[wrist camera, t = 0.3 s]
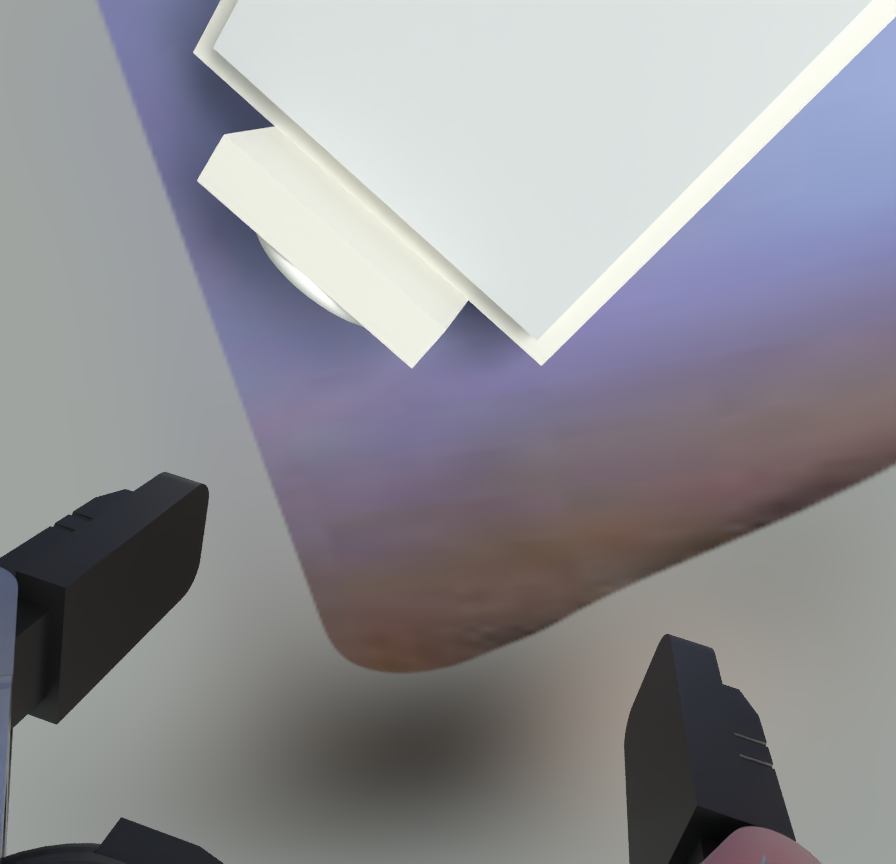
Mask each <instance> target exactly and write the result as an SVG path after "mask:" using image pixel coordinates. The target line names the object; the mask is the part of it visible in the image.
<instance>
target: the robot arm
mask: <svg viewBox="0 0 896 864" xmlns="http://www.w3.org/2000/svg"><path fill="white" fill-rule="evenodd" d="M208 500H209V491H208V488H207V486H206V485H204V484H202V483H198V482H195V481H192V480H189V479H186V478H183V477H180V476H176V475H173V474H170V473H167V472H163V473H160V474H159V475H157V476H156V477H154V478H153V479H151V480H150V481H148V482H147V483H145V484H144V485H142V486H141V487H139V488H138V489H136V490H135V491H129V490H126V489H124V490H121V491H117V492H114V493H110V494H106V495H103V496H99V497H96V498H94V499H92V500H91V501H89V502H88V503H86V504H85V505H83V506H81V507H80V508H78V509H77V510H75V511H73V514H72V515H67V516H66V517H64V518H62V519H61V520H59V521H58V522H56V523H55V525H54V527H49V528H47V529H45V530H43V531H42V532H40V533H39V534H37V535H36V536H34V537H33V538H31V539H29V540H28V541H26V542H25V543H23V544H22V545H20V546H19V547H17V548H15V549H14V550H12V551H10V552H9V553H7V554H6V555H4V556H3V557H1V558H0V864H223V863H222V862H221V861H219V860H218V859H217V858H215V857H213V856H212V855H211V854H210V853H208V852H207V851H205V850H204V849H203V848H201V847H200V846H197V845H195V844H192V843H189V842H187V841H184V840H181V839H178V838H176V837H173V836H170V835H168V834H165V833H162V832H159V831H157V830H154V829H151V828H149V827H146V826H143V825H140V824H138V823H135V822H133V821H130V820H127V819H124V818H122V817H121V818H120V820H119V821H118V822H117V824H116V825H115V826H114V828H113V829H112V830H111V832H110V833H109V834H108V836H107V837H106V838H105V840H104V841H103V842H102V844H94V843H78V844H77V843H76V844H75V843H74V844H61V845H53V846H45V847H40V848H36V849H31V850H27V851H22V852H19V853H16V854H12V855H9V856H6V849H7V830H8V813H9V795H10V776H11V758H12V740H13V727H14V726H15V725H17V724H18V723H19V721H21V720H22V719H23V718H24V717H25V716H26V715H27V714H29V715H32V716H34V717H37V718H40V719H43V720H46V721H48V722H51V723H54V724H58V723H59V722H60V721H61V720H62V719H63V718H64V717H65V716H66V715H67V714H68V713H69V712H70V711H71V710H72V709H73V708H74V707H75V706H76V705H77V704H78V703H79V702H80V701H81V700H82V699H83V698H84V697H85V696H86V695H87V694H88V693H89V692H90V691H91V690H92V689H93V688H94V687H95V686H96V684H98V683H99V681H100V680H102V679H103V677H104V676H105V675H106V674H107V673H108V672H109V671H110V670H111V669H112V668H113V667H114V666H115V665H116V664H117V663H118V662H119V661H120V660H121V659H122V658H123V657H124V656H125V655H126V654H127V653H128V652H129V651H130V650H131V649H132V648H133V647H134V646H135V645H136V644H137V643H138V642H139V641H140V640H141V639H142V638H143V637H144V636H145V635H146V634H147V633H148V632H149V631H150V630H151V629H152V628H153V627H154V626H155V625H156V624H157V623H158V622H159V621H160V620H161V619H162V618H163V617H164V616H165V615H166V614H167V613H168V612H169V611H170V610H171V609H172V608H173V607H174V606H175V605H176V604H177V603H178V602H179V601H180V600H181V599H182V598H183V597H184V596H185V594H186V593H187V592H188V590H189V588H190V587H191V585H192V583H193V581H194V579H195V576H196V574H197V571H198V568H199V564H200V557H201V550H202V543H203V535H204V529H205V521H206V514H207V507H208ZM624 750H625V752H624V753H625V774H626V795H627V819H628V840H629V862H630V864H821V863H820V862H819V861H818V860H817V859H816V858H815V857H814V856H813V855H812V854H811V853H810V852H809V851H807V850H806V849H805V848H803V847H802V846H801V845H799V844H798V843H796V840H795V836H794V833H793V830H792V826H791V823H790V820H789V816H788V812H787V809H786V806H785V802H784V799H783V796H782V792H781V789H780V786H779V782H778V779H777V776H776V772H775V769H772V765H773V762H772V759H771V755H770V752H769V749H768V747H766V739H765V735H764V732H763V729H762V725H761V722H760V719H759V716H758V714H757V713H756V712H755V710H754V709H753V708H752V706H751V705H750V704H749V702H748V701H747V700H746V698H745V697H744V696H743V694H742V693H741V692H740V690H738V689H736V688H732V687H730V686H726V685H723V684H722V680H721V676H720V672H719V668H718V664H717V660H716V656H715V652H714V650H713V649H712V648H709V647H707V646H703V645H701V644H697V643H694V642H691V641H688V640H685V639H682V638H679V637H676V636H672V635H669V634H666V635H664V636H663V638H662V639H661V641H660V643H659V645H658V647H657V649H656V652H655V654H654V656H653V659H652V661H651V663H650V666H649V668H648V670H647V673H646V675H645V678H644V680H643V682H642V685H641V687H640V689H639V692H638V694H637V696H636V699H635V701H634V703H633V706H632V708H631V711H630V714H629V718H628V722H627V727H626V733H625V741H624Z"/></svg>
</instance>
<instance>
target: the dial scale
mask: <svg viewBox="0 0 896 864" xmlns="http://www.w3.org/2000/svg"><path fill="white" fill-rule="evenodd" d="M895 17H896V0H221V1H220V2H219V4H218V6H217V8H216V10H215V12H214V14H213V16H212V18H211V20H210V21H209V23H208V25H207V27H206V29H205V31H204V33H203V35H202V37H201V38H200V40H199V42H198V44H197V46H196V48H195V50H194V52H193V53H194V54H195V55H196V56H197V57H198V58H200V59H201V60H202V61H203V62H204V63H205V64H206V65H207V66H208V67H210V68H211V69H212V70H213V71H214V72H215V73H216V74H217V75H218V76H220V77H221V78H222V79H223V80H224V81H225V82H226V83H227V84H228V85H230V86H231V87H232V88H233V89H234V90H235V91H236V92H237V93H238V94H240V95H241V96H242V97H243V98H244V99H245V100H246V101H247V102H248V103H250V104H251V105H252V106H253V107H254V108H255V109H256V110H257V111H259V112H260V113H261V114H262V115H263V116H264V117H265V118H266V119H267V120H269V121H270V122H271V123H272V124H273V125H274V127H268V128H261V129H255V130H249V131H242V132H236V133H229V134H224V135H223V137H222V139H221V140H220V142H219V144H218V145H217V147H216V149H215V151H214V152H213V154H212V156H211V157H210V159H209V161H208V163H207V164H206V166H205V168H204V169H203V171H202V173H201V175H200V176H199V178H198V180H197V181H198V182H199V183H200V184H201V185H202V186H203V187H205V188H206V189H207V190H208V191H209V192H210V193H211V194H213V195H214V196H215V197H216V198H217V199H218V200H219V201H221V202H222V203H223V204H224V205H225V206H226V207H227V208H229V209H230V210H231V211H232V212H233V213H234V214H235V215H237V216H238V217H239V218H240V219H241V220H242V221H244V222H245V223H246V224H247V225H248V226H249V227H250V228H252V229H253V230H254V231H255V232H256V233H257V236H258V239H259V241H260V243H261V245H262V247H263V249H264V250H265V252H266V254H267V255H268V256H269V258H270V259H271V261H272V262H273V263H274V264H275V266H276V267H277V268H278V269H279V270H280V272H281V273H282V274H283V275H284V276H285V277H286V278H287V279H288V280H289V281H290V282H291V283H292V284H293V285H295V286H296V287H297V288H298V289H299V290H300V291H301V292H303V293H304V294H305V295H306V296H308V297H309V298H310V299H312V300H313V301H314V302H316V303H317V304H318V305H320V306H322V307H323V308H325V309H326V310H328V311H329V312H331V313H333V314H335V315H337V316H338V317H340V318H343V319H345V320H347V321H349V322H351V323H354V324H357V325H359V326H363V327H365V328H366V329H367V330H368V331H370V332H371V333H372V334H373V335H374V336H375V337H376V338H378V339H379V340H380V341H381V342H382V343H383V344H384V345H386V346H387V347H388V348H389V349H390V350H391V351H392V352H394V353H395V354H396V355H397V356H398V357H399V358H400V359H402V360H403V361H404V362H405V363H406V364H407V365H408V366H410V367H411V368H413V367H414V365H415V364H416V363H417V362H418V361H419V360H420V359H421V358H422V356H423V355H424V354H425V353H426V352H427V351H428V350H429V349H430V348H431V346H432V345H433V344H434V343H435V342H436V341H437V340H438V339H439V337H440V336H441V335H442V334H443V333H444V332H445V331H446V329H447V328H448V327H449V325H450V324H451V323H452V321H453V320H454V319H455V317H456V316H457V315H458V313H459V312H460V311H461V309H462V308H463V307H464V305H465V304H466V303H467V301H468V300H469V301H470V302H471V303H472V304H473V305H474V306H475V307H477V308H478V309H479V310H480V311H481V312H482V313H483V314H484V315H485V316H487V317H488V318H489V319H490V320H491V321H492V322H493V323H494V324H495V325H497V326H498V327H499V328H500V329H501V330H502V331H503V332H504V333H505V334H507V335H508V336H509V337H510V338H511V339H512V340H513V341H514V342H515V343H517V344H518V345H519V346H520V347H521V348H522V349H523V350H524V351H525V352H527V353H528V354H529V355H530V356H531V357H532V358H533V359H534V360H535V361H537V362H538V363H539V364H540V365H541V366H542V365H543V364H544V363H545V362H546V361H547V360H548V359H549V358H550V357H551V356H552V355H553V354H554V353H555V352H556V351H557V350H558V349H559V348H560V347H561V346H562V345H563V344H564V343H565V342H566V341H567V340H568V339H569V338H570V337H571V336H572V335H573V334H574V333H575V332H576V331H577V330H578V329H579V328H580V327H581V326H582V325H583V324H584V323H585V322H586V321H587V320H588V319H589V318H590V317H591V316H592V315H593V314H594V313H595V312H596V311H597V310H598V309H599V308H600V307H602V306H603V305H604V304H605V303H606V302H607V301H608V300H609V299H610V298H611V297H612V296H613V295H614V294H615V293H616V292H617V291H618V290H619V289H620V288H621V287H622V286H623V285H624V284H625V283H626V282H627V281H628V280H629V279H630V278H631V277H632V276H633V275H634V274H635V273H636V272H637V271H638V270H639V269H640V268H641V267H642V266H643V265H644V264H645V263H646V262H647V261H648V260H649V259H650V258H651V257H652V256H653V255H654V254H655V253H656V252H657V251H658V250H659V249H660V248H661V247H662V246H663V245H664V244H665V243H666V242H667V241H668V240H669V239H670V238H671V237H672V236H674V235H675V234H676V233H677V232H678V231H679V230H680V229H681V228H682V227H683V226H684V225H685V224H686V223H687V222H688V221H689V220H690V219H691V218H692V217H693V216H694V215H695V214H696V213H697V212H698V211H699V210H700V209H701V208H702V207H703V206H704V205H705V204H706V203H707V202H708V201H709V200H710V199H711V198H712V197H713V196H714V195H715V194H716V193H717V192H718V191H719V190H720V189H721V188H722V187H723V186H724V185H725V184H726V183H727V182H728V181H729V180H730V179H731V178H732V177H733V176H734V175H735V174H736V173H737V172H738V171H739V170H740V169H741V168H742V167H743V166H745V165H746V164H747V163H748V162H749V161H750V160H751V159H752V158H753V157H754V156H755V155H756V154H757V153H758V152H759V151H760V150H761V149H762V148H763V147H764V146H765V145H766V144H767V143H768V142H769V141H770V140H771V139H772V138H773V137H774V136H775V135H776V134H777V133H778V132H779V131H780V130H781V129H782V128H783V127H784V126H785V125H786V124H787V123H788V122H789V121H790V120H791V119H792V118H793V117H794V116H795V115H796V114H797V113H798V112H799V111H800V110H801V109H802V108H803V107H804V106H805V105H806V104H807V103H808V102H809V101H810V100H811V99H812V98H813V97H814V96H815V95H817V94H818V93H819V92H820V91H821V90H822V89H823V88H824V87H825V86H826V85H827V84H828V83H829V82H830V81H831V80H832V79H833V78H834V77H835V76H836V75H837V74H838V73H839V72H840V71H841V70H842V69H843V68H844V67H845V66H846V65H847V64H848V63H849V62H850V61H851V60H852V59H853V58H854V57H855V56H856V55H857V54H858V53H859V52H860V51H861V50H862V49H863V48H864V47H865V46H866V45H867V44H868V43H869V42H870V41H871V40H872V39H873V38H874V37H875V36H876V35H877V34H878V33H879V32H880V31H881V30H882V29H883V28H884V27H885V26H886V25H888V24H889V23H890V22H891V21H892V20H893V19H894V18H895Z"/></svg>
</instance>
